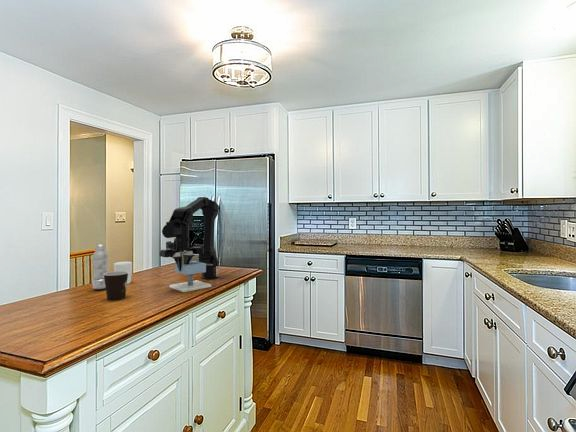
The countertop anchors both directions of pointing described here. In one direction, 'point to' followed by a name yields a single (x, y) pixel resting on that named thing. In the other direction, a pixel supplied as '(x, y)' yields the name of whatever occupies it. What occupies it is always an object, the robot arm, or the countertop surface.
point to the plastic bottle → (100, 266)
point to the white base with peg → (190, 285)
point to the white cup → (124, 269)
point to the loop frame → (191, 268)
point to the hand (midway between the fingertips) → (182, 270)
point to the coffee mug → (116, 285)
